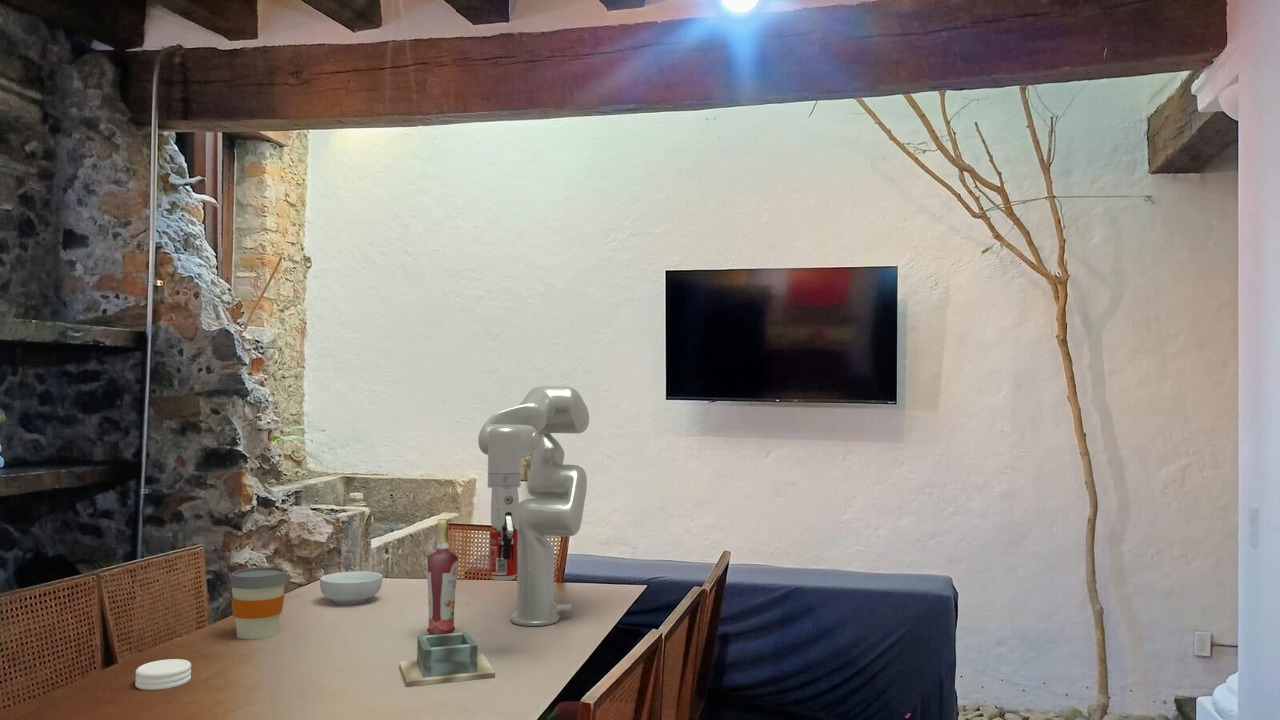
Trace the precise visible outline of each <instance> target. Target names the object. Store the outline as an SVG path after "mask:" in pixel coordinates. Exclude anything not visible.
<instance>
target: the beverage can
mask: <svg viewBox="0 0 1280 720" xmlns="http://www.w3.org/2000/svg"><path fill="white" fill-rule="evenodd" d="M512 526H513V525H512ZM502 527H503V526H502ZM513 527H514V526H513ZM502 529H503V530H502V531H506V528H502ZM505 534H506V533H504V534H503V538H504V535H505ZM499 545H501V544H500V532H499V531H498V530H496V527H495V526H493V527H492V529H491V530H490V531H489V576H490V577H491V578H492V580H494V581H510V580H511V581H512V580H514V579H515V577H517V564H518V532H517V531H515V530H514V528H513V562H512V553H510V559H508V560H505V559H504V558H503V546H502V551H501V559H500V562H499Z"/></svg>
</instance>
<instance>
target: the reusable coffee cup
mask: <svg viewBox="0 0 1280 720" xmlns="http://www.w3.org/2000/svg"><path fill="white" fill-rule="evenodd" d="M286 574H287V573H286V569H285V568H282V567H274V566H273V567H271V566H266V567H265V566H264V567H262V566H261V567H250V568H244V569H239V570H238V569H237V570H236V571H233V572H232V573H231V578H230V587H231V590H232V591H231V592H232V596H231V597H230V599H231V600H230V601H231V609H232V610H231V611H232V616H233V617H234V618H235V619H234V620H235V628H236V637H237V638H238V639H242V640H258V639H266V638H269V637H272V636H276V635H277V634H278V627H279V622H280V616H281V615H280V614H282V613H283V607H284V601H285V594H286V593H285V591H284V590H285V584H286V583H287V576H286Z"/></svg>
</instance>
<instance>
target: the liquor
mask: <svg viewBox="0 0 1280 720" xmlns="http://www.w3.org/2000/svg"><path fill="white" fill-rule="evenodd" d="M449 523H450V519H448V518H440V519H437V531H438V534H437V535H438V536H437V543H436V551H435V552H432V553H431V554H429V556H427V557H426V561H427V562H426V563H427V565H426V566H427V590H428V596H427V597H428V627H427V629H426V631H427V633H428V634H429V635H439V634H450V633H454V632H455V631H456V626H455V625H454V624H455V608H456V607H455V606H456V605H455V603H456V589H457V578H458V555H457V554H455V552H452V551H450V547H449V534H448V533H449V532H448V531H449V526H450V524H449Z"/></svg>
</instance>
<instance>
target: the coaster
mask: <svg viewBox="0 0 1280 720" xmlns="http://www.w3.org/2000/svg"><path fill="white" fill-rule="evenodd" d="M191 667H192V663H191V661H189V660H187V659H183V658H182V659H180V658H173V659H172V658H170V659H159V660H155V661H151V662H146V663H144V664H142V665H139V666H138V667H137V669H136V670H135V682H134V684H135V687H136V688H138V689H140V690H143V691H145V690H146V691H158V690H160V691H161V690H167V689H173V688H176V687H179V686H182V685H185V684H187V683H188V682H189V681H190V680H191V678H192V676H191V673H192V668H191Z"/></svg>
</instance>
